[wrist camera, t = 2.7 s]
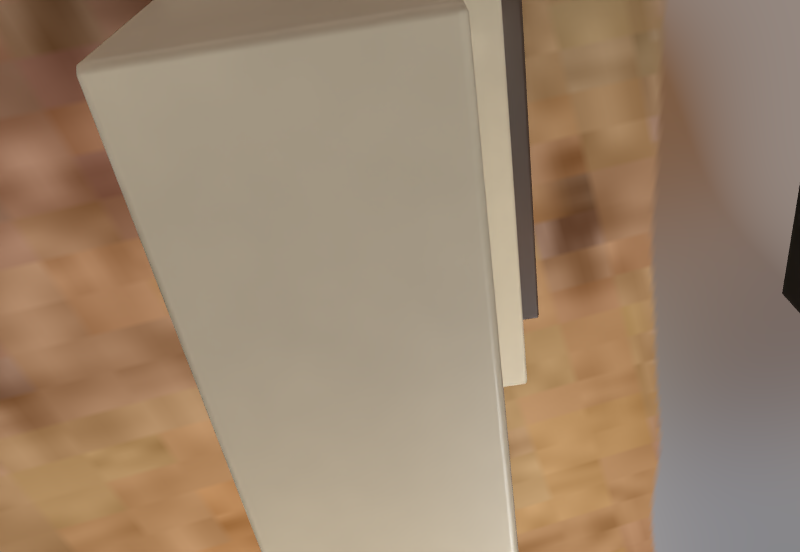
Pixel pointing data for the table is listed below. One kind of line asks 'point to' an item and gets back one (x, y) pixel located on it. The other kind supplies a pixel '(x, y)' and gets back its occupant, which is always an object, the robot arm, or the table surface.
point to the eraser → (332, 253)
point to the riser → (520, 152)
